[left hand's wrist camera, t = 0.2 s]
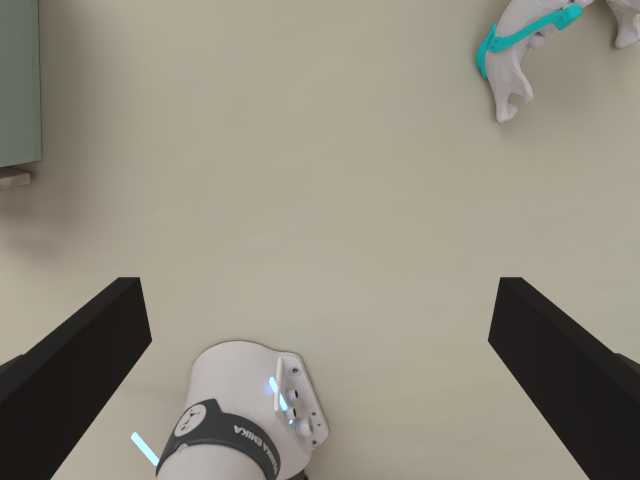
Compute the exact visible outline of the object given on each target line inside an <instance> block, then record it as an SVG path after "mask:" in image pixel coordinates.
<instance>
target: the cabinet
mask: <svg viewBox="0 0 640 480" xmlns="http://www.w3.org/2000/svg"><path fill="white" fill-rule="evenodd" d="M40 160H42V141H41V103H40V65H39V27H38V0H0V167H5V166H10V165H16V164H22V163H28V162H34V161H40Z"/></svg>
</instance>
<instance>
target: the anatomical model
mask: <svg viewBox="0 0 640 480" xmlns="http://www.w3.org/2000/svg"><path fill="white" fill-rule="evenodd" d="M593 1H595V0H575V1H574V0H511V1H510V3H509V5H508V6H507V8H506V10H505V11H504V13H503V15H502V17H501V19H500V20H499V22H498V24H497V25H496V23H494V25H493V27H492V29H491V30H490V32H489V34H488V36H487V37H486V38H485V40H484V41H483V42H482V44H481V45H480V46H479V49H478V52H477V55H476V63H477V66H478V67H479V69H480V71H481V73H482V75H483V77H484V79H486V78H488V80H489V82H490V85H491V88H492V91H493V94H494V98H495V104H496V116H497V121H498V123H499V124H500V123H505V122H508V121H509V120H511V119H512V118H513V117H514V116H515V114H516V113H517V112H518V107H517V106H516V105H513V104H511V103H508V98H509V96H510V95H511V94H512V93H513V94H518V95H520V96H522V97H523V99H524V101H526V102H528V103H529V102H530V101H532V100H533V98H534V94H533V91H532V88H531V85H530V83H529V81H528V80H527V78H526V77H525V75H524V74H523V73H522V71H521V68H520V66H521V60H522V58H523V56H524V54H525V53H526V51H527V50H528V48H529V47H531V48H533V49H537V48H539V47H541V46H542V45H543V44H544V43H545V42H546V40H547V38H548V37H549V36H550V35H551V34H552V33H554V32H555V31H557V30H562V29H564V28H565V27H567V26H568V25H569V24H570V23H571V22H573V21H574V20H575V19H577V18H578V17H579V16H581V14H582V10H581V9H582V8H584V7H585V6H587V5H589V4H590V3H592V2H593ZM606 2H607V3H608V4H609V6H610V7H611V9H612V10H613V12H614V14H615V15H616V18H617V21H618V27H619V28H618V35H617V38H616V40H615V46H616V47H617V48H619V49H623V48H626V47H628V46H630V45H633V44H635V43H637V42H638V41H639V40H640V24H639V23H638V22H637V21H636V18H635V17H636V14H638V13H639V14H640V0H606Z"/></svg>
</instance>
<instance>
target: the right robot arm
mask: <svg viewBox="0 0 640 480" xmlns="http://www.w3.org/2000/svg"><path fill="white" fill-rule="evenodd" d="M294 369H297V370H294ZM328 434H329V428H328V425H327V422H326V419H325V417H324V414H323V412H322V409H321V407H320V404H319V401H318V399H317V396H316V394H315V391H314V389H313V386H312V384H311V381H310V378H309V376H308V373H307V371H306V368H305V366H304V363H303V361H302V358H301V357H300V356H299V355H298V354H295V353H290V352H278V351H274V350H271V349H269V348H267V347H265V346H262V345H259V344H256V343H252V342H246V341H231V342H225V343H221V344H218V345H215V346H213V347H211V348H209V349H207V350H206V351H205V352H203V353H202V354H201V355H200V356H199V357H198V358H197V360H196V361H195V363H194V365H193V367H192V370H191V374H190V383H189V388H188V393H187V397H186V400H185V403H184V407H183V412H182V415H181V418H180V419H179V421H178V423H177V424H176V426H175V428H174V430H173V431H172V433H171V435H170V437H169V440H168V442H167V444H166V446H165V448H164V451H163V453H162V456H161V458H160V460H159V459H158V458H157V457H156V456H155V455H154V453H153V452H152V451H151V450H150V449H149V448H148V446H147V445H146V444H145V443H144V442H143V441H142V439H141V438H140V437H139V436H138V435H137V433H134V434H133V435H132V437H131V438H132V439H133V441H134V442H135V443H136V444H137V445H138V446H139V448H140V449H141V450H142V451H143V452H144V453H145V455H146V456H147V457H148V458H149V459H150V460H151V462H152V463H153V464H154V465H157V464H158V465H157V469H156V479H155V480H308V479H307V478H306V477H305V476H304V468H305V467H306V465H307V464H308V462H309V461H310V458H311V453H312V451H313V450H314V449H316V448H317V447H318V446H320V445H321V444H322V443H323V442H324V441H325V439H326V438H327V437H328ZM158 461H159V463H158Z"/></svg>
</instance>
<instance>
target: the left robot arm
mask: <svg viewBox="0 0 640 480" xmlns="http://www.w3.org/2000/svg"><path fill="white" fill-rule="evenodd" d="M151 342H152V338H151V332H150V327H149V322H148V317H147V312H146V307H145V302H144V297H143V292H142V287H141V282H140V277H118V278H117V279H116V280H115V281H114V282H112V283H111V284H110V285H109V286H107V287H106V288H105V289H104V290H103V291H101V292H100V293H99V294H98V295H96V296H95V297H94V298H93V299H91V300H90V301H89V302H88V303H87V304H85V305H84V306H83V307H82V308H80V309H79V310H78V311H77V312H76V313H74V314H73V315H72V316H71V317H69V318H68V319H67V320H66V321H65V322H63V323H62V324H61V325H60V326H58V327H57V328H56V329H55V330H54V331H52V332H51V333H50V334H49V335H47V336H46V337H45V338H44V339H43V340H41V341H40V342H39V343H38V344H36V345H35V346H34V347H33V348H32V349H30V350H29V351H28V352H27V353H25V354H24V355H19V356H17V357H16V358H14V359H12V360H10V361H8V362H6V363H5V364H3V365H1V366H0V480H50V479H51V478H52V477H53V475H54V474H55V472H56V471H57V470H58V468H59V467H60V466H61V464H62V463H63V462H64V460H65V459H66V457H67V456H68V455H69V453H70V452H71V451H72V449H73V448H74V447H75V445H76V444H77V443H78V441H79V440H80V438H81V437H82V436H83V434H84V433H85V432H86V430H87V429H88V428H89V426H90V425H91V423H92V422H93V421H94V419H95V418H96V417H97V415H98V414H99V413H100V411H101V410H102V409H103V407H104V406H105V404H106V403H107V402H108V400H109V399H110V398H111V396H112V395H113V394H114V392H115V391H116V389H117V388H118V387H119V385H120V384H121V383H122V381H123V380H124V379H125V377H126V376H127V375H128V373H129V372H130V370H131V369H132V368H133V366H134V365H135V364H136V362H137V361H138V360H139V358H140V357H141V355H142V354H143V353H144V351H145V350H146V349H147V347H148V346H149V345H150V343H151ZM488 342H489V343H490V345H491V346H492V347H493V349H494V350H495V351H496V353H497V354H498V355H499V357H500V358H501V360H502V361H503V362H504V364H505V365H506V366H507V368H508V369H509V370H510V372H511V373H512V375H513V376H514V377H515V379H516V380H517V381H518V383H519V384H520V385H521V387H522V388H523V389H524V391H525V392H526V394H527V395H528V396H529V398H530V399H531V400H532V402H533V403H534V404H535V406H536V407H537V409H538V410H539V411H540V413H541V414H542V415H543V417H544V418H545V419H546V421H547V422H548V423H549V425H550V426H551V428H552V429H553V430H554V432H555V433H556V434H557V436H558V437H559V438H560V440H561V441H562V443H563V444H564V445H565V447H566V448H567V449H568V451H569V452H570V453H571V455H572V456H573V457H574V459H575V460H576V462H577V463H578V464H579V466H580V467H581V468H582V470H583V471H584V472H585V474H586V475H587V477H588V478H589V479H590V480H640V364H638V363H636V362H635V361H633V360H631V359H629V358H627V357H625V356H623V355H622V354H620V353H613V352H612V351H611V350H610V349H608V348H607V347H606V346H605V345H604V344H602V343H601V342H600V341H599V340H597V339H596V338H595V337H594V336H593V335H591V334H590V333H589V332H588V331H586V330H585V329H584V328H583V327H582V326H580V325H579V324H578V323H577V322H575V321H574V320H573V319H572V318H571V317H569V316H568V315H567V314H566V313H564V312H563V311H562V310H561V309H560V308H558V307H557V306H556V305H555V304H553V303H552V302H551V301H550V300H549V299H547V298H546V297H545V296H544V295H542V294H541V293H540V292H539V291H537V290H536V289H535V288H534V287H533V286H531V285H530V284H529V283H528V282H526V281H525V280H524V279H523V278H522V277H500V282H499V287H498V292H497V297H496V302H495V307H494V312H493V317H492V322H491V327H490V332H489V338H488Z"/></svg>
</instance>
